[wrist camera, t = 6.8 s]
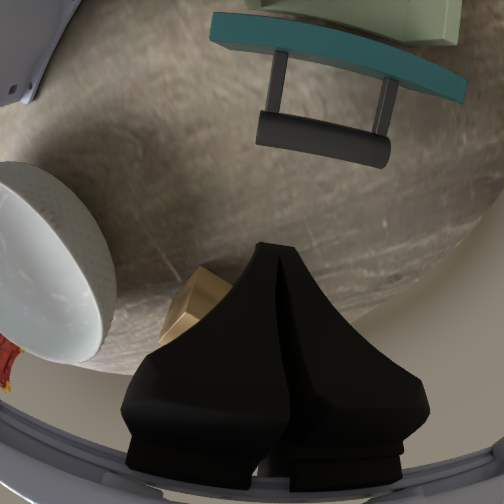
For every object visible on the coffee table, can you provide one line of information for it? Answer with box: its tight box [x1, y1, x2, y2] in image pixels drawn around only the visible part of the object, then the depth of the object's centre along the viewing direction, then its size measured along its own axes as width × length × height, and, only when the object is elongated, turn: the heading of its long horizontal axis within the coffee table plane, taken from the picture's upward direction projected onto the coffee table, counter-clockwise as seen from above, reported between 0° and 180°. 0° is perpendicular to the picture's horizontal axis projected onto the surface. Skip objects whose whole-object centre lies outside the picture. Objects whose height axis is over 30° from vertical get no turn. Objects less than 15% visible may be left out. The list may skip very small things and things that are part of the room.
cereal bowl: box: [0, 161, 117, 364], centre depth 19 cm, size 17×17×7 cm
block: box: [158, 265, 233, 346], centre depth 23 cm, size 4×4×5 cm
